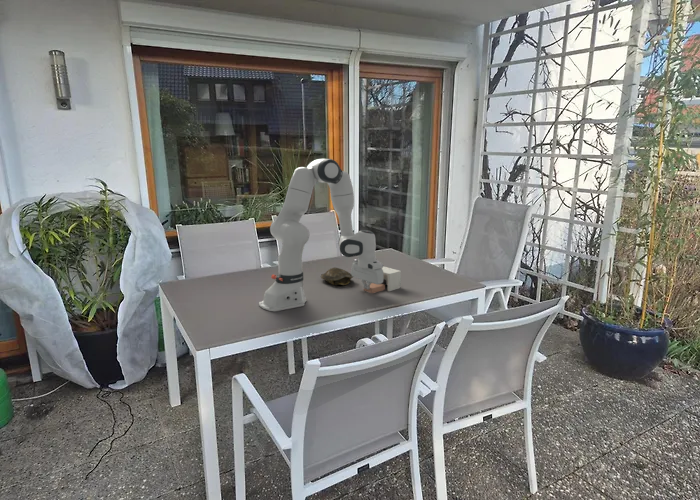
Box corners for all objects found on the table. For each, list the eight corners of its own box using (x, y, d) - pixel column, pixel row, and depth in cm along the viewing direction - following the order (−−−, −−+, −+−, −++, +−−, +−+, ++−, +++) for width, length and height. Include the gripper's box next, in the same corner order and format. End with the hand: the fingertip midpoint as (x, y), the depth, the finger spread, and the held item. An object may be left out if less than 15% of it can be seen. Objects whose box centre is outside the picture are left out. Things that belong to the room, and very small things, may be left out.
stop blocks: (393, 288, 229) (393, 283, 229) (379, 284, 237) (380, 279, 236) (396, 287, 231) (396, 283, 230) (382, 283, 238) (382, 279, 237)
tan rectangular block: (372, 294, 221) (372, 288, 221) (363, 291, 226) (363, 285, 225) (384, 290, 227) (384, 284, 226) (376, 287, 232) (376, 282, 231)
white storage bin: (389, 291, 224) (389, 273, 222) (370, 285, 234) (370, 268, 232) (400, 287, 230) (400, 270, 228) (381, 282, 240) (381, 265, 238)
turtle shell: (341, 265, 253) (358, 266, 236) (342, 280, 254) (359, 283, 236) (315, 268, 246) (331, 270, 228) (316, 284, 246) (332, 287, 228)
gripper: (348, 259, 225) (348, 285, 228) (376, 267, 210) (376, 294, 213) (357, 257, 229) (357, 283, 232) (385, 265, 214) (385, 292, 217)
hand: (366, 288), depth 223 cm, fingers closed
